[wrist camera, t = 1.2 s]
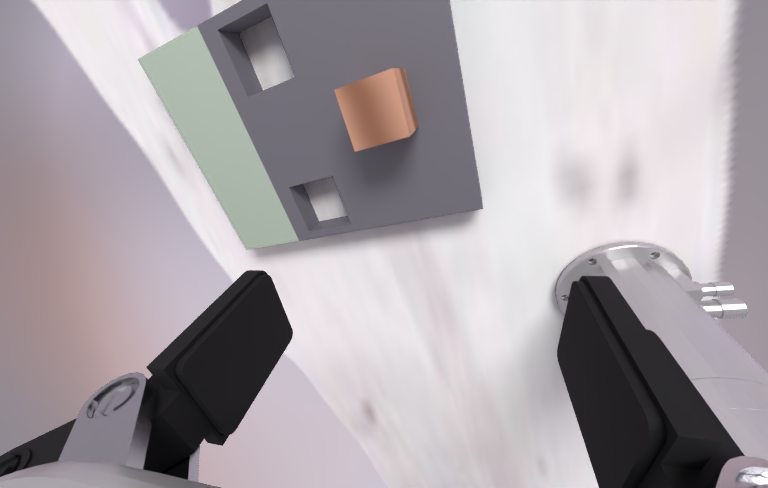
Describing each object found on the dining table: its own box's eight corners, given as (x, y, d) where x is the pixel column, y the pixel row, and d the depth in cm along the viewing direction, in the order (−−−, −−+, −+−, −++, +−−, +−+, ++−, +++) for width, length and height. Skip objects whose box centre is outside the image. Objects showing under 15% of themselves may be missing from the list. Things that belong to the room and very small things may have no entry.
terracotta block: (404, 68, 26) (392, 68, 22) (418, 126, 28) (409, 136, 24) (354, 87, 28) (334, 89, 24) (370, 140, 30) (354, 151, 26)
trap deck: (435, -88, 23) (431, -107, 20) (481, 198, 33) (482, 208, 31) (162, 60, 34) (137, 59, 32) (259, 239, 44) (246, 250, 42)
